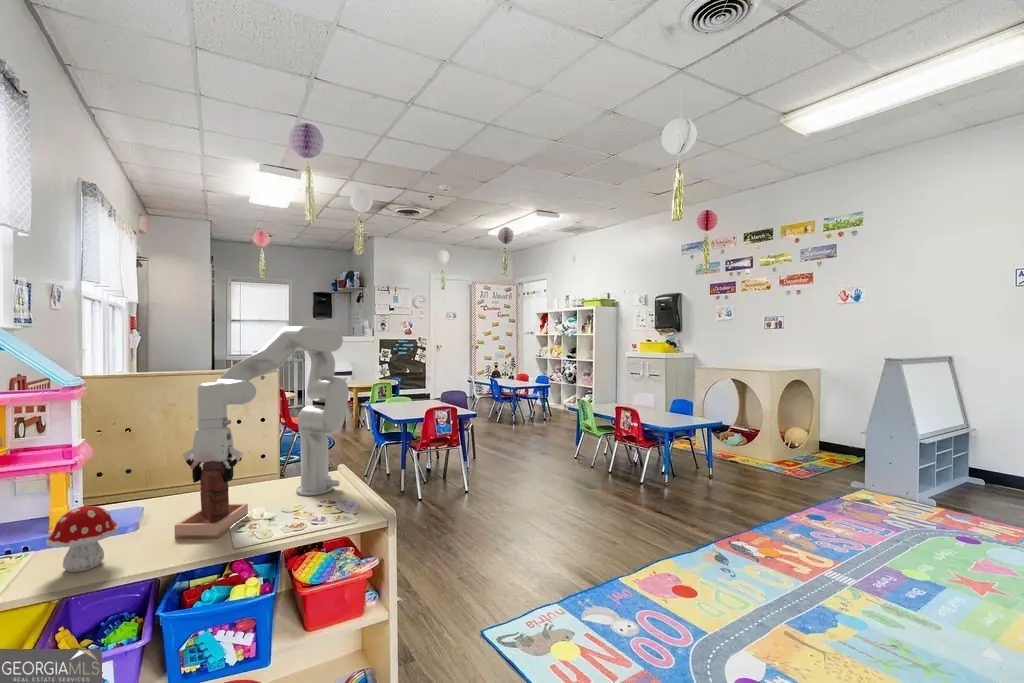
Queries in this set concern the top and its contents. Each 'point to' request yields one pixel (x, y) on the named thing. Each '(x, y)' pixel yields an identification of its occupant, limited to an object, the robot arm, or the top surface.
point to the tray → (209, 524)
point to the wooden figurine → (214, 492)
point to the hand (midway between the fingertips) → (213, 480)
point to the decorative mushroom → (82, 536)
